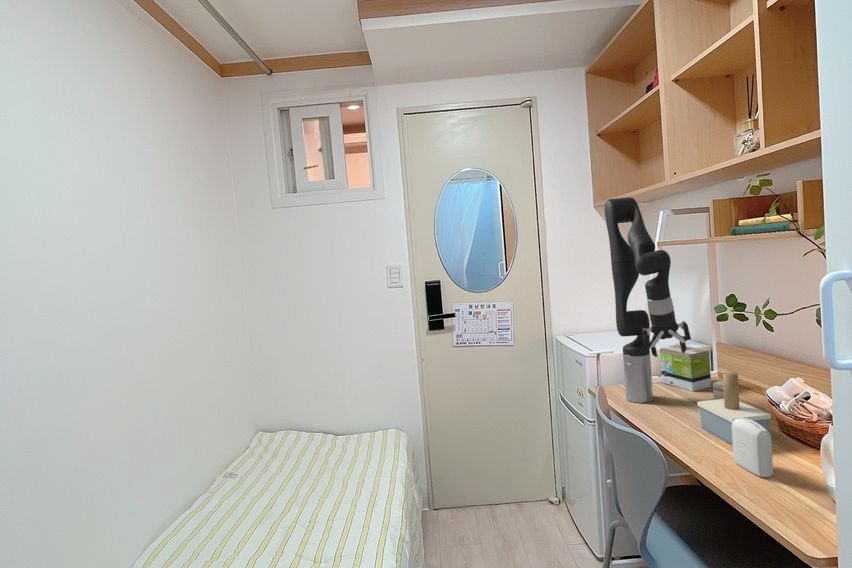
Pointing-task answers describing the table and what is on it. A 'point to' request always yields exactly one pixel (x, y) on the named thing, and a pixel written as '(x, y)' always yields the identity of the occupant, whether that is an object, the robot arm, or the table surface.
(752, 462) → the photo printer
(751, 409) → the lid
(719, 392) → the skincare box
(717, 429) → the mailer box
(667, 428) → the table surface
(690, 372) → the tea box
